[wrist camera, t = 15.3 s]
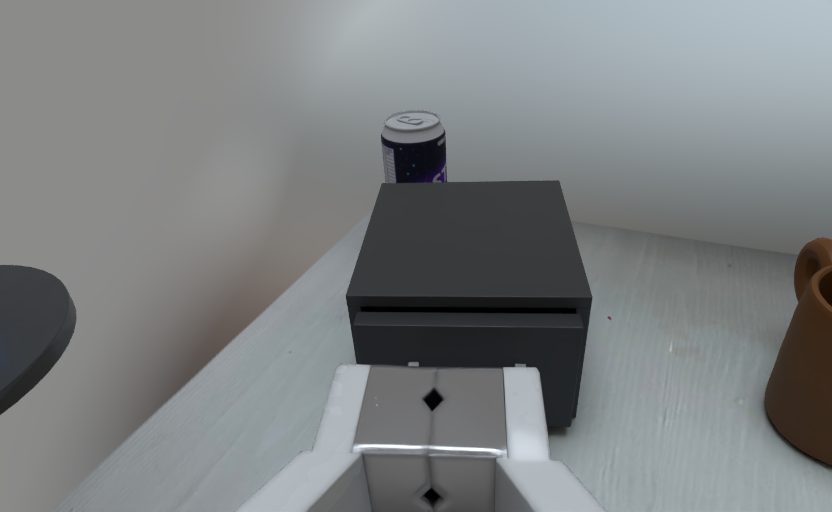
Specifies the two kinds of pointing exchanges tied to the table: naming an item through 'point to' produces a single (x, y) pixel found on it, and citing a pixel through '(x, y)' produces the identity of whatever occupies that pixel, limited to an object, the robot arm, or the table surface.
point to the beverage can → (414, 147)
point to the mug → (806, 359)
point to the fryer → (471, 251)
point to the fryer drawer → (480, 344)
